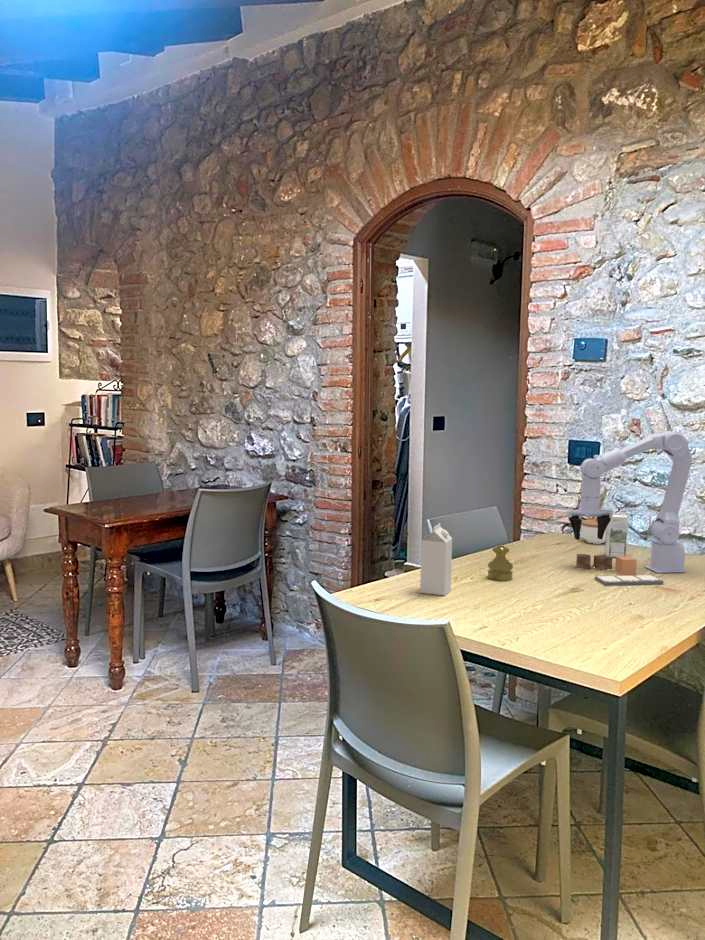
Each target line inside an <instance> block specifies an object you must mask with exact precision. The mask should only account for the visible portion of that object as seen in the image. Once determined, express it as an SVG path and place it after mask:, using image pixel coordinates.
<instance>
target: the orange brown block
mask: <svg viewBox="0 0 705 940" xmlns="http://www.w3.org/2000/svg"><path fill="white" fill-rule="evenodd" d="M614 572H615V573H616V572H617V573H616V574H618V573H619V574H618V575H620V574H621V575H620V576H635V575H637V559H636V558H634V557H633V556H631V555H626V556H616V558H615V565H614Z"/></svg>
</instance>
